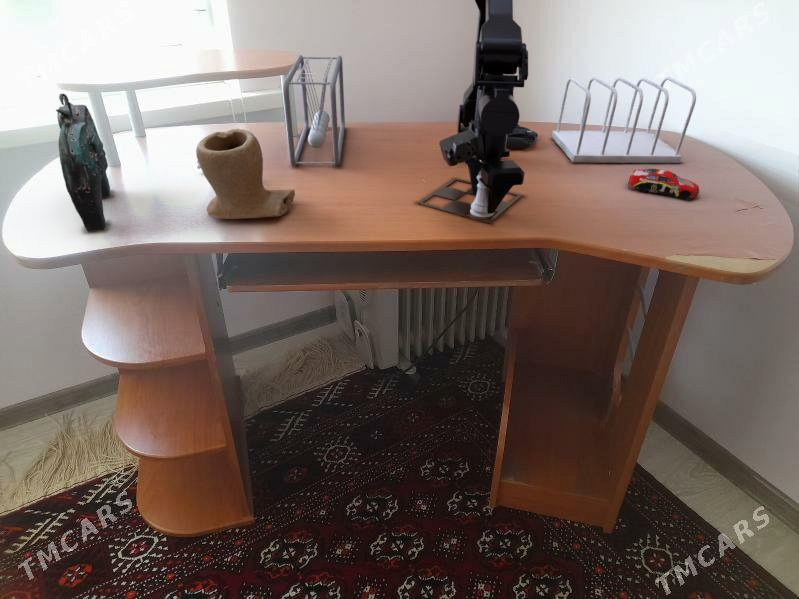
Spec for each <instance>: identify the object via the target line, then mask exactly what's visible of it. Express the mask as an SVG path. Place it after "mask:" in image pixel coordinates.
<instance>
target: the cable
mask: <svg viewBox="0 0 799 599" xmlns="http://www.w3.org/2000/svg"><path fill="white" fill-rule="evenodd" d="M538 137H539V134H538V132H536V131H534V130H531V129H530V128H528V127H525V126H521V125H520V124H519V123H518V124H517V126H516V128H515V129H514V130H513V131H512V133H509V134H508V135H507V143H506V148H507V149H513V150H523V149H526V148H530V147H532V146H534V144H535V143H536V142H537V140H538Z"/></svg>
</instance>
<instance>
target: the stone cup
mask: <svg viewBox="0 0 799 599" xmlns="http://www.w3.org/2000/svg"><path fill="white" fill-rule="evenodd" d="M195 155H196V158H197V161H198V162H199V164H200V167H201V168H200V169H201V171H202V174H203V176H204V177H205V179H206V180H207V182H208V183H209V185H210V187H211V188H212V190H213V192H214V194H215V196H214V197H213V198H212V199H211V200H210V201H209V202H208V204H207V206H206V212H207V214H208V216H209V217H210V218H213V219H223V220H238V219H239V220H240V219H259V218H273V217H275V218H276V217H279V216H283V215H285V214H286V213H287V212H288V210H289V209H290V207H291V206H292V203H293V202H294V198H295V195H296V192H295V189H293V188H292V189H291V188H290V189H266V188H265V187H264V183H263V173H264V158H263V151H262V147H261V144H260V142H259V140H258V138H257V137H256V136H255V134H254V133H252V132H251V131H250V130H247V129H244V128H243V129H242V128H233V129H232V128H231V129H229V130H226V131H216V132H212V133H210V134H208V135H206V136H204V137H203V138H202V139H201V140H200V141H199V142H198V144H197V146H196V150H195Z"/></svg>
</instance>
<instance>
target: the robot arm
mask: <svg viewBox="0 0 799 599" xmlns="http://www.w3.org/2000/svg"><path fill="white" fill-rule="evenodd" d="M474 2H475V4H476V6H477V9H478V14H477V27H476V37H475V44H474V53H473V69H472V70H473V71H472V77H471V78H472V79H471V83H470V85H469V86H468V88H466V90H465V92H464V93H463V94H462V95H463V97H462V104H459V107H458V112H457V113H458V115H457V123H456V124H457V126H456V128H457V133H454V134H453V135H450V136H448V137H446V138H443V139H441V140H440V141H439V142H438V145H439V148H440V152H441V156H442V158H443V160H444V161H445V162H446V164H447V165H448V167H455V166H458V165H459V164H462V163H465V164H466V165H467V169H468V173H469V174H468V175H469V181H470V182H471V184H470V186H471V188H472V192H473V195H472V196H475V195H477V191H478V187H477V185H478V183H479V181H478V180H477V176H478V175H479V172H480V171H481V177H482V178H479V180H480V181H481V182H482V183H483V184H484V186H486V205H487V213H488V214H492V213H494V214H495V213H496V212H495V210H496V209H497V207H498V206H499V204H500V203H501V201H502V202H503V200H504V198H505V197H506V196H507V194H508V192H511V190H512V189H513V187H514V186H522V185H523V184H524V181H525V171H524V170H523V169H522V168H521V167H520V166H519V165H518V164H517V163H516V162H515V161H514V160H513V159H510V160H509V159H508V160H502V158H509V157H510V153H511V151H510V150H509V148H506V143H507V135H508V134H509V133H512V131H513V130H514V129H515V128H516V126H517V124H518V125H519V122H520V121H519V120H520V110H519V107H518V105H517V103H516V102H517V101H516V100H515V97H514V89H515V88H525V81H527V80H528V77H529V50H528V49H527V44H526V42H523V33H522V32H523V31H522V27H521V26H520V25H519V24H518V23H517V22H516V21H515V20H514V5H513V4H514V3H513V2H514V1H513V0H474ZM517 74H518V75H517ZM475 197H476V196H475Z"/></svg>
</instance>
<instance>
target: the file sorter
mask: <svg viewBox="0 0 799 599" xmlns="http://www.w3.org/2000/svg"><path fill="white" fill-rule="evenodd" d="M593 81H595V82H596V83H598V84H600V85H602V86H604V87H605V88H607V89H609V91H610V94H609V99H608V102H607V107H606V111H605V116H604V120H603V124H602V129H601V130H585V129H586V126H587V125H586V124H587V121H588V117H589V116H588V115H589V112H590V106H591V100H592V97H591V96H592V95H591V91H590V90H591V85H592V83H593ZM619 81H620V82H622V83H623V84H625V85H627V86H628V87H631V88H632V89H634V92H633V96H632V98H631V99H632V100H631V103H630V108H629V111H628V115H627V119H626V123H625V127H624V130H611V128H612V123H613V120H614V116H615V111H616V108H617V103H618V92H617V89H616V86H617V83H618V82H619ZM667 81H669V82H672V83H673V84H675V85H677V86H679V87H680V88H683V89H684V90H687V91H688V92H690V93H691V95H692V99H691V100H692V101H691V105H690V108H689V111H688V114H687V117H686V119H685V123H684V126H683V129H682V132H681V135H680V137H679V140H678V144H677V146H676V150H675V149H673V148H672V147H671V146H670V145H668V144H667V143H666V142H665V141H663V140H662V139H660V138H659V137H660V132H661V129H662V126H663V122H664V119H665V115H666V112H667V108H668V105H669V99H670V96H669V91H668V90H667V89H666V88H665V87H664V85H665V83H666V82H667ZM571 82H573V83H574V84H575V85H576V86H577V87H579V88H580V89H582V90H583V91H584V92H585V96H584V97H585V98H584V102H583V108H582V114H581V119H580V125H579V130H560V128H561V124H562V119H563V115H564V110H565V106H566V99H567V96H568V91H569V90H568V89H569V86H570V83H571ZM642 82H645V83H646V84H648V85H650V86H652V87H654V88H656V89H658V92H657V95H656V99H655V102H654V104H653V109H652V112H651V115H650V119H649V122H648V125H647V129H646V131H641V130H639V131H637V130H636V128H637V125H638V120H639V117H640V114H641V110H642V106H643V102H644V92H643V89H642V88H641V87H640V84H642ZM662 92H663V93H664V105H663V108H662V111H661V115H660V119H659V122H658V126H657V130H656V133H655V134H654V133H653V132H652V131H651V127H652V124H653V121H654V118H655V114H656V111H657V107H658V104H659V101H660V97H661V94H662ZM637 93H638V94H639V102H638V106H637V108H636V109H637V110H636V113H635V117H634V120H633V125H632V127H631V128H632V129H631V130H629V131H628V129H629V125H630V121H631V117H632V114H633V110H634V106H635V102H636V98H637V95H638V94H637ZM612 102H613V105H612ZM696 102H697V92H696V91H695V89H694V88H692V87H690V86H689V85H687V84H684V83H682V82H680V81H678V80H676V79H675V78H673V77H670V76H667V77H665V78H663V79H662V81H661V83H660V84H658V83H655V82H653V81H652V80H650V79H648V78H646V77H642V78H639V79H638V81H637V83H636V84H634V83H632V82H631V81H629V80H626V79H625V78H623V77H620V76H619V77H617V78H615V79H614V81H613V83H612V85H610V84H609V83H607V82H605V81H603V80H602V79H600V78H598V77H596V76H592V77H591V78H590V79H589V81H588V83H587V86H585V85H584V84H582V83H581V82H580V81H579V80H577V79H576V78H575V77H569V78H567V80H566V84H565V87H564V93H563V98H562V101H561V106H560V112H559V117H558V122H557V126H556V130H552V134H551V138H552V139H553V140H554V142H555V143H556V144H557V145H558V146H559V148H561V150H562V151H563V153H564V154H565V155H566V156H567V158H569V160H570V161H571V162H572V163H606V164H607V163H608V164H609V163H613V164H614V163H615V164H616V163H617V164H619V163H621V164H624V163H626V164H627V163H628V164H630V163H631V164H679V163H681V161H682V158H683V155H682V154H680V150H681V147H682V144H683V142H684V139H685V136H686V132H687V130H688V127H689V125H690V124H689V123H690V121H691V118H692V115H693V112H694V110H695V105H696V104H697V103H696ZM611 106H612V107H611ZM610 111H611V112H610ZM609 113H610V115H609ZM608 117H609V121H608ZM607 121H608V123H607Z"/></svg>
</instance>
